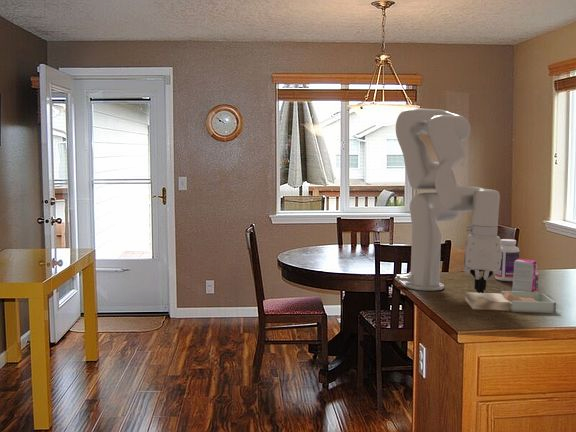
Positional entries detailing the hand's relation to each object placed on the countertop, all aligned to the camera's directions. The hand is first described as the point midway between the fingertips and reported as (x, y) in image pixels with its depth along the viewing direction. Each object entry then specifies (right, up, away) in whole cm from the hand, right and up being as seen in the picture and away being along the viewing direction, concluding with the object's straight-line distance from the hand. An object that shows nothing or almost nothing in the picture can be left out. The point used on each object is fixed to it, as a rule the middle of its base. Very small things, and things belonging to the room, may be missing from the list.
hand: (479, 291), depth 197 cm
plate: (+2, -4, -1) cm, 4 cm away
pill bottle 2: (+22, -2, +21) cm, 30 cm away
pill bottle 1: (+21, 0, +40) cm, 45 cm away
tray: (+14, -4, -2) cm, 14 cm away
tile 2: (+13, -2, -2) cm, 14 cm away
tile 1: (+9, -3, -1) cm, 9 cm away
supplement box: (+17, -3, +13) cm, 22 cm away
